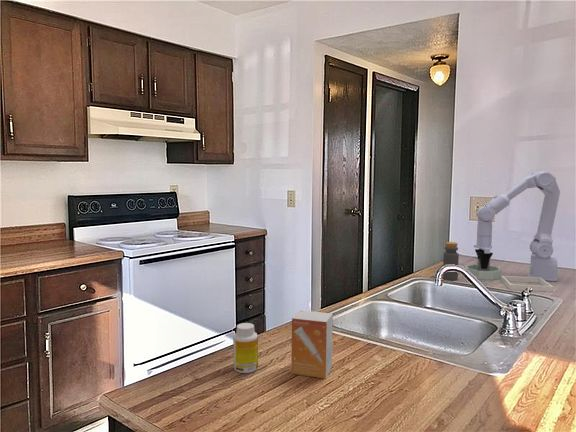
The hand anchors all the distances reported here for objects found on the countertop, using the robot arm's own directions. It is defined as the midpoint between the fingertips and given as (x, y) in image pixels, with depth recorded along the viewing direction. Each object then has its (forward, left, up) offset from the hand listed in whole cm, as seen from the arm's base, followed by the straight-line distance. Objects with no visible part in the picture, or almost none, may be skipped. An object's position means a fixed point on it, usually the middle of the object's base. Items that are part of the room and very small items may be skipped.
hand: (482, 267), depth 196 cm
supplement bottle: (+71, +107, -4) cm, 128 cm away
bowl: (0, 0, -4) cm, 4 cm away
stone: (0, 0, -1) cm, 1 cm away
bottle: (+14, +8, -4) cm, 17 cm away
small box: (+56, +105, -4) cm, 119 cm away
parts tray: (-13, +14, -4) cm, 19 cm away
